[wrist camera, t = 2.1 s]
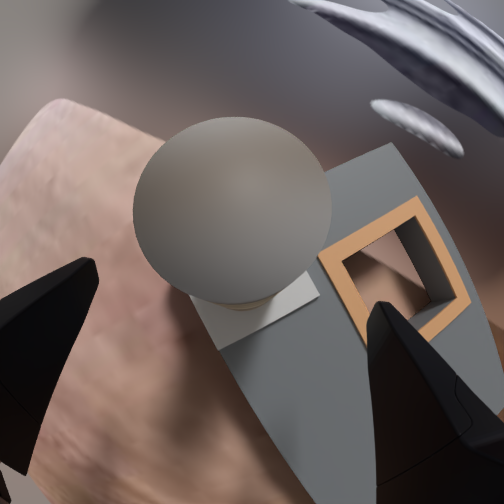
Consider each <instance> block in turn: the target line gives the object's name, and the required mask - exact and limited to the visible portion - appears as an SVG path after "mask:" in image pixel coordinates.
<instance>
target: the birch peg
mask: <svg viewBox="0 0 504 504" xmlns="http://www.w3.org/2000/svg"><path fill="white" fill-rule="evenodd" d="M331 215H332V201H331V193H330V188H329V185H328V181H327V178H326V176H325V173H324V171H323V169H322V167H321V165H320V164H319V162H318V160H317V159H316V157H315V156H314V155H313V153H312V152H311V151H310V150H309V149H308V148H307V147H306V146H305V145H304V144H303V143H302V142H301V141H300V140H299V139H298V138H296V137H295V136H294V135H292V134H291V133H289V132H287V131H286V130H284V129H282V128H280V127H278V126H276V125H273V124H271V123H268V122H265V121H261V120H257V119H251V118H244V117H224V118H217V119H211V120H208V121H204V122H201V123H198V124H196V125H193V126H191V127H189V128H187V129H185V130H183V131H181V132H179V133H178V134H176V135H175V136H173V137H172V138H171V139H169V140H168V141H167V142H166V143H165V144H164V145H162V146H161V147H160V148H159V150H158V151H157V152H156V153H155V154H154V155H153V156H152V158H151V159H150V161H149V162H148V164H147V165H146V167H145V169H144V171H143V172H142V174H141V177H140V179H139V182H138V184H137V187H136V192H135V196H134V203H133V223H134V228H135V234H136V237H137V240H138V243H139V246H140V248H141V250H142V252H143V254H144V256H145V257H146V259H147V260H148V262H149V263H150V265H151V266H152V267H153V269H154V270H155V271H156V272H157V273H158V274H159V275H160V276H161V277H162V278H163V279H165V280H166V281H167V282H168V283H170V284H171V285H172V286H174V287H176V288H177V289H179V290H181V291H182V292H184V293H187V294H189V295H191V296H194V297H196V298H199V299H202V300H205V301H208V302H211V303H213V304H216V305H219V306H222V307H225V308H228V309H231V310H235V311H249V310H253V309H256V308H258V307H260V306H262V305H264V304H265V303H267V302H268V301H269V300H270V299H272V298H273V297H274V296H276V295H277V294H278V293H280V292H281V291H282V290H284V289H285V288H286V287H287V286H289V285H290V284H291V283H293V282H294V281H295V280H296V279H297V278H298V277H300V276H301V275H302V274H303V273H304V272H305V271H306V270H307V269H308V268H309V267H310V265H311V264H312V263H313V262H314V260H315V259H316V257H317V256H318V254H319V253H320V251H321V249H322V247H323V245H324V242H325V240H326V238H327V234H328V231H329V228H330V222H331Z"/></svg>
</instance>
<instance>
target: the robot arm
mask: <svg viewBox="0 0 504 504" xmlns="http://www.w3.org/2000/svg"><path fill="white" fill-rule="evenodd" d="M98 284H99V277H98V272H97V268H96V264H95V261H94V259H92V258H87V257H81V258H79V259H77V260H75V261H73V262H71V263H69V264H67V265H65V266H63V267H61V268H59V269H57V270H55V271H53V272H51V273H49V274H47V275H45V276H43V277H41V278H39V279H37V280H35V281H33V282H32V283H30V284H28V285H26V286H24V287H22V288H20V289H18V290H17V291H15V292H13V293H11V294H9V295H8V296H6V297H4V298H2V299H1V300H0V463H1V462H3V463H4V464H5V465H7V466H9V467H10V468H12V469H14V470H15V471H17V472H19V473H21V474H22V475H24V476H26V474H27V472H28V468H29V464H30V461H31V457H32V454H33V450H34V447H35V444H36V440H37V437H38V434H39V431H40V428H41V425H42V422H43V419H44V416H45V413H46V410H47V408H48V405H49V402H50V400H51V397H52V394H53V392H54V389H55V387H56V384H57V382H58V379H59V377H60V374H61V372H62V370H63V367H64V365H65V363H66V360H67V358H68V356H69V354H70V351H71V349H72V347H73V345H74V343H75V340H76V338H77V336H78V334H79V332H80V330H81V328H82V325H83V323H84V321H85V318H86V316H87V313H88V310H89V308H90V305H91V303H92V300H93V297H94V295H95V292H96V290H97V287H98ZM366 332H367V365H368V377H369V385H370V394H371V404H372V414H373V427H374V441H375V460H376V486H377V487H376V504H504V423H503V422H502V421H501V420H500V419H499V418H498V417H497V415H496V414H495V413H494V412H493V411H492V410H491V409H490V408H489V407H488V406H487V405H486V404H485V403H484V402H483V401H482V400H481V399H480V398H479V397H478V396H477V395H476V394H475V393H474V392H473V391H472V390H471V389H470V388H469V387H468V385H467V384H466V383H465V382H464V381H463V380H462V379H461V378H460V376H459V375H456V372H455V371H454V370H453V369H452V368H451V366H450V365H449V364H448V363H447V362H446V361H445V360H444V359H443V358H442V357H441V355H440V354H439V353H438V352H437V351H436V350H435V349H434V348H433V347H432V346H431V345H430V344H429V343H428V341H427V340H426V339H425V338H424V337H423V336H422V335H421V334H420V333H419V332H418V331H417V330H416V329H415V328H414V327H413V326H412V325H411V324H410V323H409V322H408V321H407V320H406V319H405V317H404V316H403V315H402V314H401V313H400V312H399V311H398V310H397V309H396V308H395V307H394V306H393V305H392V304H391V303H389V302H384V301H378V302H376V303H375V305H374V307H373V309H372V311H371V313H370V315H369V317H368V320H367V324H366ZM10 503H11V498H10V495H9V493H8V490H7V487H6V484H5V481H4V478H3V475H2V472H1V470H0V504H10Z"/></svg>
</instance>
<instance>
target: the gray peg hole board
mask: <svg viewBox="0 0 504 504" xmlns="http://www.w3.org/2000/svg"><path fill="white" fill-rule="evenodd" d="M324 173H325V176H326V178H327V181H328V185H329V188H330V193H331V201H332V215H331V222H330V228H329V231H328V234H327V238H326V240H325V242H324V245H323V247H322V249H321V251H320V253H319V254H318V256H317V257H316V259H315V260H314V262H313V263H312V264H311V265H310V267H309V268H308V269H307V270H306V271H305V272H304V273H303V274H302V275H301V276H300V277H298V278H297V279H296V280H295V281H294V282H293V283H291V284H290V285H289V286H287V287H286V288H285V289H284V290H282V291H281V292H280V293H278V294H277V295H276V296H274V297H273V298H272V299H270V300H269V301H268V302H267V303H265V304H264V305H262V306H260V307H258V308H256V309H253V310H249V311H235V310H231V309H228V308H225V307H222V306H219V305H216V304H213V303H211V302H208V301H205V300H202V299H199V298H196V297H194V296H191V295H189V296H190V298H191V300H192V302H193V304H194V306H195V308H196V310H197V312H198V314H199V316H200V318H201V320H202V322H203V324H204V325H205V327H206V329H207V331H208V333H209V335H210V337H211V339H212V340H213V342H214V344H215V346H216V348H217V350H219V352H220V353H221V355H222V357H223V359H224V361H225V362H226V364H227V366H228V368H229V370H230V371H231V373H232V375H233V377H234V378H235V380H236V382H237V383H238V385H239V387H240V389H241V390H242V392H243V394H244V395H245V397H246V399H247V400H248V402H249V404H250V405H251V407H252V409H253V410H254V412H255V414H256V415H257V417H258V418H259V420H260V422H261V423H262V425H263V426H264V428H265V430H266V431H267V433H268V434H269V436H270V438H271V439H272V441H273V442H274V444H275V445H276V447H277V448H278V450H279V451H280V453H281V454H282V456H283V457H284V459H285V460H286V462H287V463H288V465H289V466H290V468H291V469H292V471H293V472H294V474H295V475H296V476H297V478H298V479H299V481H300V482H301V484H302V485H303V486H304V488H305V489H306V491H307V492H308V493H309V495H310V496H311V497H312V499H313V500H314V502H315V503H316V504H376V487H377V486H376V460H375V441H374V427H373V414H372V404H371V394H370V385H369V377H368V365H367V332H366V324H367V320H368V317H369V315H370V313H369V311H368V309H367V307H366V305H365V304H364V302H363V300H362V298H361V296H360V294H359V292H358V290H357V289H356V287H355V285H354V283H353V281H352V279H351V278H350V276H349V274H348V272H347V270H346V269H345V267H344V265H343V263H342V262H341V261H343V260H345V259H346V258H348V257H350V256H351V255H353V254H355V253H356V252H358V251H360V250H361V249H363V248H365V247H366V246H368V245H369V244H371V243H373V242H374V241H376V240H378V239H379V238H381V237H382V236H384V235H386V234H387V233H389V232H390V231H392V230H395V232H396V234H397V236H398V237H399V239H400V241H401V243H402V244H403V246H404V248H405V250H406V252H407V254H408V256H409V257H410V259H411V261H412V263H413V265H414V267H415V269H416V271H417V273H418V275H419V277H420V279H421V281H422V282H423V285H424V287H425V289H426V291H427V293H428V295H429V297H430V299H431V302H430V303H429V304H428V305H426V306H425V307H424V308H423V309H421V310H420V311H419V312H418V313H416V314H415V315H414V316H413V317H411V318H410V319H409V320H407V321H408V322H409V323H410V324H411V325H412V326H413V327H414V328H415V329H416V330H417V331H418V332H419V333H420V334H421V335H422V336H423V337H424V338H425V339H426V340H427V341H428V343H429V344H430V345H431V346H432V347H433V348H434V349H435V350H436V351H437V352H438V353H439V354H440V355H441V357H442V358H443V359H444V360H445V361H446V362H447V363H448V364H449V365H450V366H451V368H452V369H453V370H454V371H455V372H456V375H459V376H460V378H461V379H462V380H463V381H464V382H465V383H466V384H467V385H468V387H469V388H470V389H471V390H472V391H473V392H474V393H475V394H476V395H477V396H478V397H479V398H480V399H481V400H482V401H483V402H484V403H485V404H486V405H487V406H488V407H489V408H490V409H491V410H492V411H493V412H494V413H495V414H496V415H498V413H499V412H500V411H501V410H502V409H503V408H504V374H503V370H502V366H501V362H500V358H499V355H498V351H497V348H496V345H495V342H494V338H493V335H492V332H491V329H490V326H489V323H488V321H487V318H486V315H485V312H484V310H483V307H482V304H481V302H480V299H479V297H478V294H477V292H476V289H475V287H474V285H473V283H472V280H471V278H470V275H469V273H468V271H467V269H466V267H465V264H464V262H463V260H462V258H461V256H460V254H459V252H458V250H457V248H456V246H455V244H454V242H453V240H452V238H451V236H450V234H449V232H448V230H447V229H446V227H445V225H444V223H443V221H442V219H441V218H440V216H439V214H438V212H437V211H436V209H435V207H434V206H433V204H432V202H431V200H430V199H429V197H428V196H427V194H426V192H425V191H424V189H423V187H422V186H421V184H420V183H419V181H418V180H417V178H416V177H415V175H414V174H413V172H412V170H411V169H410V168H409V166H408V165H407V163H406V162H405V160H404V159H403V157H402V156H401V155H400V153H399V152H398V150H397V149H396V148H395V146H394V145H393V143H389V144H386V145H384V146H382V147H380V148H377V149H375V150H373V151H370V152H368V153H366V154H364V155H361V156H359V157H357V158H355V159H353V160H350V161H348V162H346V163H344V164H341V165H339V166H337V167H335V168H333V169H331V170H328V171H326V172H324Z"/></svg>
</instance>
